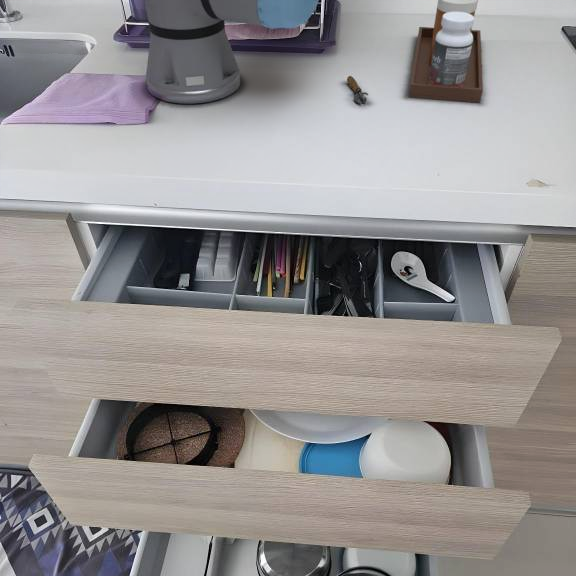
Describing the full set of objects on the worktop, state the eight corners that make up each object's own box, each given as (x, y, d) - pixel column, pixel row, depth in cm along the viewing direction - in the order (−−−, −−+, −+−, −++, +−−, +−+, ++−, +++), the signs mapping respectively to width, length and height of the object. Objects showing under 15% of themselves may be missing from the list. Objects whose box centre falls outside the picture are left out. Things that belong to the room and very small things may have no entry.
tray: (417, 38, 110) (419, 26, 109) (477, 42, 109) (480, 30, 107) (408, 97, 93) (409, 84, 91) (479, 102, 91) (482, 89, 90)
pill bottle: (424, 78, 96) (435, 10, 89) (458, 78, 96) (472, 9, 89) (431, 93, 93) (443, 22, 85) (466, 92, 93) (482, 22, 85)
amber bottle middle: (421, 60, 102) (432, -7, 94) (453, 56, 103) (466, -10, 96) (438, 73, 98) (451, 5, 90) (471, 68, 99) (485, 1, 92)
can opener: (346, 82, 97) (346, 75, 96) (360, 82, 97) (360, 74, 96) (355, 106, 91) (356, 98, 90) (370, 105, 91) (371, 97, 90)
